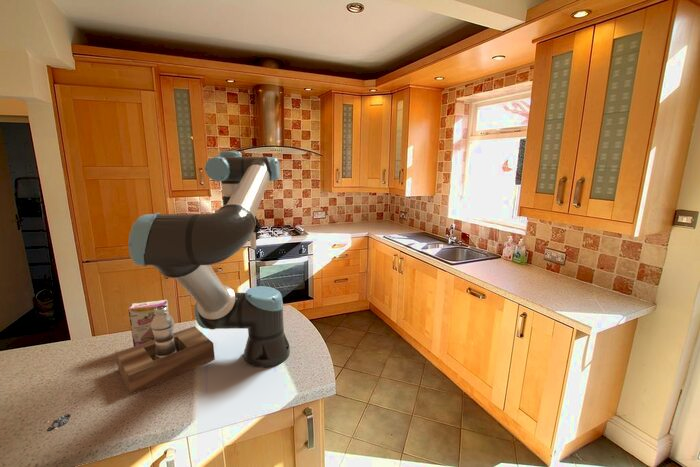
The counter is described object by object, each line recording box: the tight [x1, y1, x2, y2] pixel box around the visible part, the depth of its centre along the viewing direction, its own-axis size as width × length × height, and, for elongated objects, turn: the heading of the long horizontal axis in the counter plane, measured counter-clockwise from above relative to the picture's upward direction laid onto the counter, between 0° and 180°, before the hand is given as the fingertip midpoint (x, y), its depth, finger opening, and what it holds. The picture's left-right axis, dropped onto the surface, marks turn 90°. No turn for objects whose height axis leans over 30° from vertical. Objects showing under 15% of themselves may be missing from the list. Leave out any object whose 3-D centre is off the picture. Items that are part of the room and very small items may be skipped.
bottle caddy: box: [115, 326, 216, 395], centre depth 107 cm, size 16×24×6 cm, turn 136°
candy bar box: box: [128, 299, 170, 347], centre depth 116 cm, size 11×5×16 cm, turn 111°
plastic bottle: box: [151, 305, 177, 360], centre depth 105 cm, size 6×7×20 cm
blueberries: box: [46, 412, 71, 432], centre depth 84 cm, size 7×8×2 cm
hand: (237, 252), depth 123 cm, fingers open, 13 cm apart
